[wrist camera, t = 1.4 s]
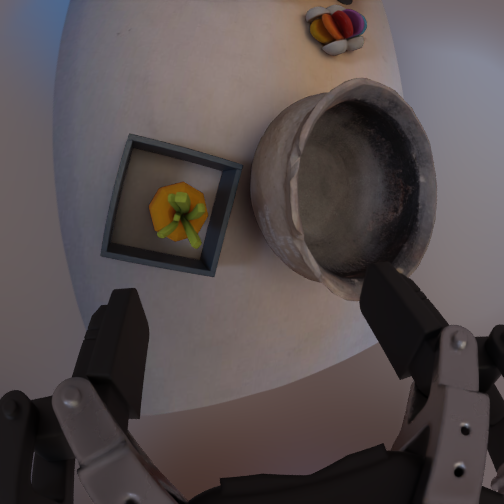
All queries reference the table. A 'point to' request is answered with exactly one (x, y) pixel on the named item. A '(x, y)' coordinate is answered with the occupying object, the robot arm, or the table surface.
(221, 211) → the square storage tray
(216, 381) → the table surface
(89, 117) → the table surface
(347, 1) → the sundae
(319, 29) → the rainbow cloud toy
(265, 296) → the table surface
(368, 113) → the ceramic bowl
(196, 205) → the carrot
